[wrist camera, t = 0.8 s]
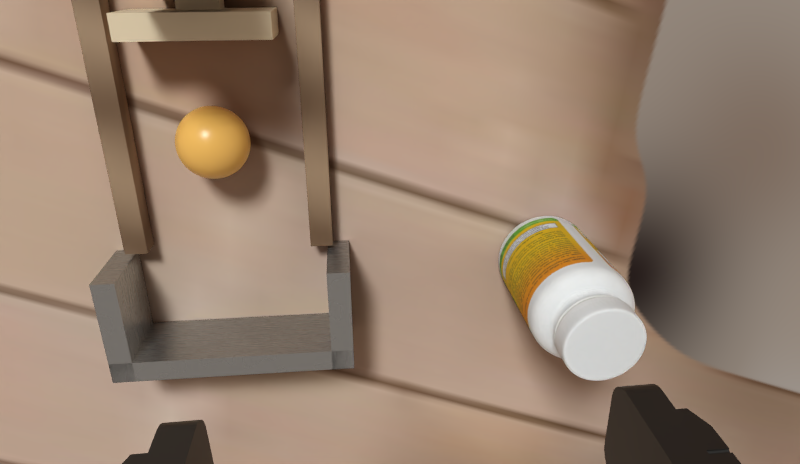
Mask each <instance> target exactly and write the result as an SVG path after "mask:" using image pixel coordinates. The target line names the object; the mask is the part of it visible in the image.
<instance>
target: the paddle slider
mask: <svg viewBox="0 0 800 464" xmlns="http://www.w3.org/2000/svg"><path fill="white" fill-rule="evenodd" d="M175 7H176V8H175V9H126V10H121V11H115V12H110V13H106V14H107V20H108V25H109V30H110V35H111V41H112V42H154V41H219V40H273V39H274V38H275V37H276V36H277V35H278V34H279V28H278V16H277V7H266V8H224V0H175Z"/></svg>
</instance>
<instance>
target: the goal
mask: <svg viewBox="0 0 800 464" xmlns="http://www.w3.org/2000/svg"><path fill="white" fill-rule="evenodd" d="M89 286H90V290H91V294H92V298H93V303H94V307H95V311H96V315H97V319H98V323H99V327H100V331H101V335H102V340H103V344H104V348H105V352H106V356H107V360H108V364H109V368H110V372H111V376H112V381H113V383H118V382H135V381H151V380H167V379H183V378H200V377H216V376H232V375H248V374H265V373H281V372H297V371H314V370H330V369H346V368H354V351H353V326H352V303H351V280H350V257H349V241H333V245H330V246H328V253H327V287H328V303H329V313H325V314H307V315H288V316H269V317H251V318H232V319H214V320H195V321H176V322H158V323H153V320H152V315H151V310H150V305H149V300H148V295H147V290H146V285H145V280H144V275H143V270H142V265H141V260H140V255H139V254H126V255H125V252H124V250H123V251H116V252H115V253H114V254H113V256H112V257H111V258H110V259H109V261H108V262H107V263H106V265H105V266H104V267H103V268H102V270H101V271H100V272H99V273H98V275H97V276H96V277H95V278H94V280H93V281H92V282H91V284H90V285H89Z"/></svg>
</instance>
